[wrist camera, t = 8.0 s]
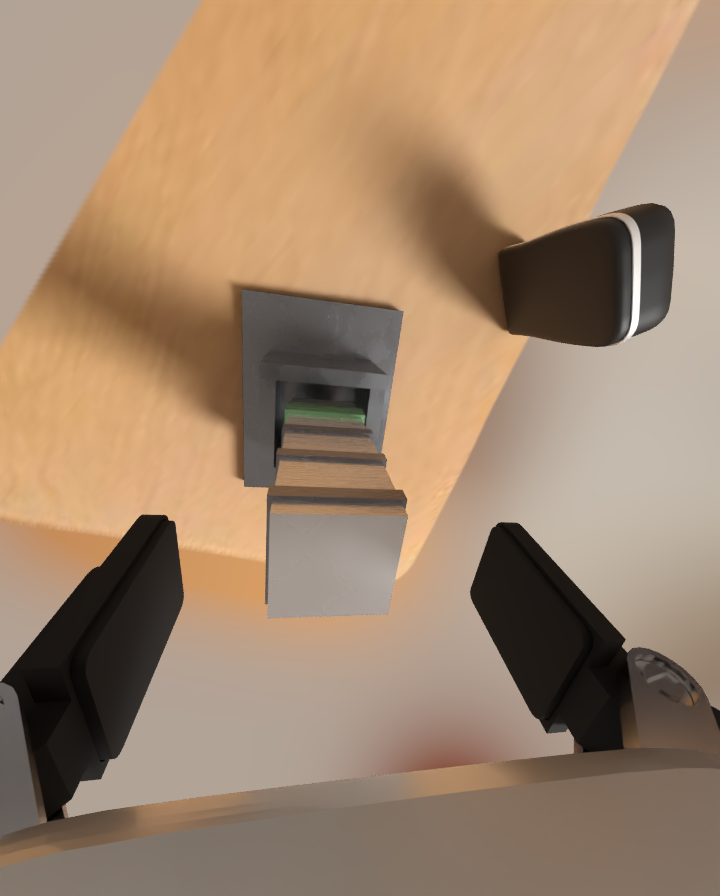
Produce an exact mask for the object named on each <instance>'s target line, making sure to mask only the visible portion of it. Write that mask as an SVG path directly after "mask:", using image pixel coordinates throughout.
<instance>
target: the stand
mask: <svg viewBox="0 0 720 896" xmlns="http://www.w3.org/2000/svg"><path fill="white" fill-rule="evenodd" d="M403 312H404V311H398V310H390V309H383V308H376V307H368V306H361V305H354V304H346V303H339V302H331V301H324V300H317V299H309V298H302V297H294V296H287V295H280V294H272V293H265V292H258V291H250V290H243V289H242V350H243V432H244V487H269V485H275V480H276V453H277V448H281V443H282V426H283V424H284V420H285V407H286V403H287V402H291V398H292V397H295V398H307V399H319V400H331V401H343V402H354V404H355V406H356V408H362V410H363V412H364V414H365V422H364V425H365V427H366V429H371V430H372V432H373V439H372V442H373V444H374V446H375V448H376V450H377V452H378V453H380V454H381V452H382V445H383V439H384V432H385V426H386V420H387V413H388V407H389V401H390V394H391V388H392V382H393V375H394V369H395V363H396V356H397V350H398V344H399V337H400V331H401V324H402V318H403Z"/></svg>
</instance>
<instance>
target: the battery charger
mask: <svg viewBox="0 0 720 896" xmlns="http://www.w3.org/2000/svg"><path fill="white" fill-rule="evenodd" d="M674 241H675V225H674V218H673V216H672V213H671V211H670V210H669V209H668V208H666V207H665V206H662V205H658V204H654V203H649V204H641V205H637V206H633V207H629V208H625V209H621V210H617V211H614V212H610V213H607V214H604V215H600V216H598V217H594V218H591V219H587V220H584V221H580V222H577V223H574V224H571V225H568V226H565V227H563V228H560V229H557V230H555V231H552V232H550V233H547V234H545V235H542V236H540V237H537V238H535V239H533V240H530V241H526V242H523V243H519V244H515V245H511V246H508V247H506V248H505V249H504V250H502V251H501V252H500V253H499V265H500V273H501V281H502V288H503V296H504V303H505V309H506V316H507V323H508V329H509V333H510V334H512V335H524V336H532V337H537V338H541V339H546V340H551V341H555V342H561V343H567V344H573V345H582V346H593V347H604V346H612V345H617V344H619V343H622V342H624V341H626V340H628V339H629V338H630V337H633V336H636V335H638V334H641V333H643V332H646V331H648V330H650V329H652V328H654V327H656V326H657V325H658V324H659V323H660V322H661V321H662V320H663V319H664V318H665V317H666V315H667V313H668V310H669V306H670V301H671V290H672V278H673V266H674V265H673V264H674Z"/></svg>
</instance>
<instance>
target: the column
mask: <svg viewBox="0 0 720 896" xmlns="http://www.w3.org/2000/svg"><path fill="white" fill-rule="evenodd" d="M364 422H365V414H364V412H363V410H362V408H356V406H355V404H354V402H343V401H331V400H319V399H307V398H295V397H292V398H291V402H287V403H286V407H285V420H284V424H283V426H282V443H281V448H277V453H276V480H275V485H269V489H268V494H267V532H266V589H265V604H268V618H293V617H323V616H353V615H378V614H379V615H381V614H388V611H389V606H390V601H391V596H392V591H393V586H394V581H395V577H396V572H397V567H398V562H399V557H400V552H401V548H402V543H403V538H404V533H405V528H406V523H407V519H408V515H407V513H406V511H405V508H406V503H407V498H406V496H405V494H404V492H403V490H395V488H394V486H393V484H392V482H391V479H390V477H389V475H388V473H387V471H386V469H385V468H386V461H387V459H386V457H385V455H384V454H380V453H378V452H377V450H376V448H375V446H374V444H373V442H372V439H373V432H372V430H371V429H366V427H365V425H364Z"/></svg>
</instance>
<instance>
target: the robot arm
mask: <svg viewBox="0 0 720 896" xmlns="http://www.w3.org/2000/svg"><path fill="white" fill-rule="evenodd" d="M183 594H184V592H183V584H182V575H181V567H180V559H179V550H178V542H177V534H176V526H175V522H174V521H169V520H168V517H167V516H166V515H141V516H140V517H139V518H138V519H137V520H136V521H135V523H134V524H133V525H132V526H131V528H130V529H129V530H128V532H127V533H126V534H125V535H124V537H123V538H122V539H121V541H120V542H119V543H118V545H117V546H116V547H115V548H114V550H113V551H112V552H111V554H110V555H109V556H108V557H107V558H106V560H105V561H104V562H103V564H102V565H101V566H100V567H96V568H94V569H92V570H91V571H90V572H89V573H88V574H87V575H86V576H85V578H84V579H83V580H82V581H81V583H80V584H79V585H78V586H77V588H76V589H75V590H74V591H73V593H72V594H71V595H70V597H69V598H68V599H67V600H66V602H64V604H63V605H62V606H61V607H60V609H59V610H58V611H57V613H56V614H55V615H54V616H53V617H52V619H51V620H50V621H49V622H48V624H47V625H46V626H45V627H44V628H43V630H42V631H41V632H40V633H39V635H38V636H37V637H36V638H35V640H34V641H33V642H32V643H31V645H30V646H29V647H28V648H27V650H26V651H25V652H24V653H23V655H22V656H21V657H20V658H19V659H18V661H17V662H16V663H15V664H14V666H13V667H12V668H11V669H10V671H9V672H8V673H7V674H6V676H5V677H4V678H3V679H2V681H1V682H0V896H720V711H719V710H717V709H716V708H714V707H712V706H711V705H710V703H709V700H708V698H707V696H706V694H705V692H704V690H703V688H702V687H701V686H700V685H699V684H698V682H697V681H696V680H695V679H694V678H693V677H692V676H691V675H690V674H689V673H688V672H687V671H686V670H685V669H684V668H682V667H681V666H679V665H678V664H677V663H675V662H674V661H673V660H671V659H669V658H668V657H666V656H664V655H662V654H660V653H658V652H656V651H653V650H651V649H647V648H641V647H637V648H632V649H631V650H630V651H629V652H628V653H627V652H626V651H625V650H624V649H623V648H622V645H623V643H624V642H625V638H624V637H623V636H622V635H621V634H620V633H619V631H618V630H617V629H616V628H615V627H614V626H613V625H612V624H611V623H610V622H609V621H608V620H607V618H606V617H605V616H604V615H603V614H602V613H601V612H600V611H599V610H598V609H597V608H596V607H595V605H594V604H593V603H592V602H591V601H590V600H589V599H588V598H587V597H586V596H585V595H584V594H583V592H582V591H581V590H580V589H579V588H578V587H577V586H576V585H575V584H574V583H573V581H572V580H571V579H570V578H569V577H568V576H567V575H566V574H565V573H564V572H563V571H562V569H561V568H560V567H559V566H558V565H557V564H556V563H555V562H554V561H553V560H552V559H551V557H549V555H548V554H547V553H546V552H545V551H544V550H543V549H542V548H541V547H540V546H539V544H538V543H537V542H536V541H535V540H534V539H533V538H532V537H531V536H530V535H529V534H528V532H527V531H526V530H525V529H524V528H523V527H522V526H521V525H520V524H518V523H505V522H501V523H498V524H497V525H496V527H493V528H492V530H491V532H490V535H489V538H488V541H487V544H486V546H485V549H484V552H483V555H482V558H481V561H480V563H479V566H478V569H477V572H476V575H475V578H474V581H473V584H472V587H471V591H470V594H471V599H472V602H473V604H474V605H475V608H476V609H477V611H478V613H479V615H480V617H481V619H482V621H483V623H484V625H485V626H486V628H487V630H488V632H489V634H490V636H491V638H492V640H493V642H494V643H495V645H496V647H497V649H498V651H499V653H500V655H501V657H502V658H503V660H504V662H505V664H506V666H507V668H508V670H509V672H510V674H511V675H512V677H513V679H514V681H515V683H516V685H517V687H518V689H519V691H520V692H521V694H522V696H523V698H524V700H525V702H526V704H527V706H528V708H529V710H530V711H531V713H532V714H533V715H534V717H535V718H537V719H539V720H540V722H541V724H542V725H543V727H544V729H545V731H546V733H557V732H566V730H567V729H569V730H570V732H571V734H572V736H573V737H574V754H566V755H558V756H548V757H540V758H530V759H521V760H511V761H502V762H494V763H484V764H475V765H467V766H458V767H449V768H440V769H431V770H423V771H414V772H406V773H397V774H388V775H380V776H371V777H362V778H354V779H345V780H336V781H329V782H320V783H312V784H304V785H296V786H287V787H279V788H271V789H263V790H255V791H246V792H238V793H230V794H221V795H213V796H206V797H197V798H190V799H183V800H177V801H170V802H162V803H156V804H148V805H141V806H134V807H127V808H120V809H113V810H107V811H101V812H95V813H90V814H85V815H80V816H75V817H70V818H69V817H68V813H67V809H66V803H67V802H68V801H70V800H71V799H72V797H73V795H74V793H75V791H76V789H77V787H78V784H79V782H80V781H87V780H96V779H101V777H102V775H103V773H104V771H105V768H106V766H107V764H108V762H109V759H115V758H117V757H118V755H119V754H120V752H121V750H122V748H123V746H124V743H125V741H126V739H127V737H128V734H129V732H130V729H131V727H132V724H133V722H134V720H135V717H136V715H137V713H138V710H139V708H140V705H141V703H142V701H143V698H144V696H145V693H146V691H147V689H148V686H149V684H150V681H151V679H152V677H153V674H154V672H155V669H156V667H157V665H158V662H159V660H160V657H161V655H162V653H163V650H164V648H165V646H166V643H167V641H168V638H169V636H170V634H171V631H172V629H173V626H174V624H175V621H176V619H177V617H178V615H179V612H180V610H181V607H182V603H183V598H184V595H183Z"/></svg>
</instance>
